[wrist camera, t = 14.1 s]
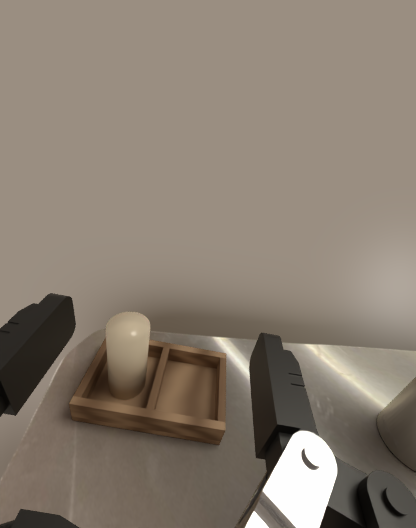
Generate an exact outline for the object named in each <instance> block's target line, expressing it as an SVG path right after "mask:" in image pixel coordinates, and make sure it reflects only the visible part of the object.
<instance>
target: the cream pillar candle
mask: <svg viewBox="0 0 416 528" xmlns="http://www.w3.org/2000/svg"><path fill="white" fill-rule="evenodd" d="M149 335H150V323H149V320H148V319H147V318H146V317H145V316H144V315H142V314H140V313H137V312H123V313H120V314H117V315H115V316H114V317H112V318H111V319H110V320H109V321H108V323H107V325H106V346H107V365H108V385H109V391H110V393H111V394H112V395H113V396H114V397H115V398H117V399H120V400H129V399H132V398H134V397H136V396H138V395H139V394H140V393H141V392H142V391H143V389H144V387H145V384H146V373H147V360H148V348H149Z"/></svg>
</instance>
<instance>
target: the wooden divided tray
mask: <svg viewBox="0 0 416 528" xmlns="http://www.w3.org/2000/svg"><path fill="white" fill-rule="evenodd" d="M69 406H70V411H71V416H72V420H74V421H80V422H86V423H92V424H98V425H104V426H110V427H116V428H121V429H127V430H133V431H139V432H145V433H151V434H157V435H163V436H169V437H174V438H180V439H186V440H192V441H198V442H204V443H210V444H216V445H219V444H220V442H221V439H222V437H223V435H224V432H225V416H226V353H220V352H215V351H209V350H204V349H198V348H193V347H187V346H182V345H176V344H170V343H165V342H159V341H154V340H149V348H148V360H147V373H146V384H145V387H144V389H143V391H142V392H141V393H140V394H139V395H138V396H136V397H134V398H132V399H129V400H120V399H117V398H115V397H114V396H113V395H112V394H111V393H110V391H109V385H108V365H107V346H106V338H105V340H104V341H103V343H102V345H101V347H100V349H99V351H98V352H97V354H96V356H95V358H94V360H93V361H92V363H91V365H90V367H89V369H88V370H87V372H86V374H85V376H84V378H83V379H82V381H81V383H80V385H79V387H78V388H77V390H76V392H75V394H74V396H73V397H72V399H71V401H70V403H69Z"/></svg>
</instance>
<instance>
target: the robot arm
mask: <svg viewBox="0 0 416 528" xmlns="http://www.w3.org/2000/svg"><path fill="white" fill-rule="evenodd" d="M75 325H76V323H75V316H74V309H73V302H72V298H71V297H69V296H64V295H58V294H53V293H50V294H48V295H47V296H46V297H45V298H44V299H43V300H42V301H41V302H40V303H39V304H31V305H29V306H27V307H26V308H24V309H22V310H20V311H18V312H17V314H15V315H14V316H13V317H12V318H11V319H10V320H9V321H8V323H7V324H5V325H4V326H3V327H1V328H0V417H1V415H2V414H3V413H4V414H10V415H15V416H16V415H17V413H18V412H19V410H20V409H21V408H22V406H23V405H24V403H25V402H26V401H27V399H28V398H29V396H30V395H31V393H32V392H33V391H34V389H35V388H36V386H37V385H38V384H39V382H40V381H41V379H42V378H43V377H44V375H45V374H46V372H47V371H48V369H49V368H50V367H51V365H52V364H53V362H54V361H55V360H56V358H57V357H58V355H59V354H60V352H61V351H62V350H63V348H64V347H65V346H66V344H67V343H68V341H69V340H70V338H71V337H72V335H73V333H74V330H75ZM249 371H250V385H251V398H252V412H253V425H254V439H255V452H256V458H259V459H265V460H266V470H267V472H266V473H265V475H264V477H263V478H262V480H261V482H260V484H259V485H258V487H257V489H256V491H255V493H254V494H253V496H252V498H251V500H250V501H249V503H248V505H247V507H246V509H245V510H244V512H243V514H242V516H241V517H240V519H239V521H238V523H237V524H236V526H235V528H416V499H415V498H414V496H413V495H412V493H411V492H410V491H409V490H408V488H407V487H406V486H405V485H404V484H403V483H402V482H401V481H400V480H398V479H397V478H396V477H394V476H393V475H391V474H389V473H387V472H385V471H380V470H378V471H374V472H372V473H370V474H369V475H367V474H365V473H363V472H362V471H360V470H358V469H356V468H354V467H352V466H350V465H349V464H347V463H345V462H343V461H341V460H340V459H338V458H337V457H336V456H334V455H333V453H332V451H331V450H330V448H329V447H328V445H327V444H326V443H325V442H324V441H323V440H322V439H321V438H320V437H319V434H318V432H317V429H316V425H315V422H314V418H313V414H312V411H311V407H310V403H309V400H308V396H307V392H306V389H305V388H304V386H305V385H304V381H303V378H302V374H301V370H300V367H299V363H298V361H297V360H296V358H295V357H294V355H293V354H292V352H291V351H288V350H283V346H282V342H281V338H280V336H277V335H272V334H267V333H261V334H260V335H259V338H258V340H257V343H256V345H255V348H254V350H253V352H252V355H251V358H250V366H249ZM377 426H378V430H379V433H380V435H381V437H382V439H383V441H384V442H385V444H386V445H387V447H388V448H389V449H390V450H391V452H392V453H393V454H394V455H395V456H396V457H397V458H398V459H399V460H400V461H401V462H402V463H404V464H405V465H406V466H408V467H409V468H410V469H412V470H414V471H416V377H415V378H414V379H413V380H412V381H411V382H410V383H409V384H408V385H407V386H406V387H405V388H404V389H403V390H402V391H401V392H400V393H399V394H398V395H397V396H396V397H395V398H394V399H393V400H392V401H391V402H390V403H389V404H388V405H387V406H386V407H385V408H384V409H383V410H382V411H381V412H380V413H379V415H378V417H377ZM0 528H79V527H77V526H76V525H74V524H73V523H71V522H70V521H68V520H66V519H65V518H63V517H62V516H60V515H55V514H49V513H43V512H37V511H30V510H24V509H20V511H19V513H18V515H17V517H16V519H15V520H13V521H10V522H7V523H4V524H1V525H0Z"/></svg>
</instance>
